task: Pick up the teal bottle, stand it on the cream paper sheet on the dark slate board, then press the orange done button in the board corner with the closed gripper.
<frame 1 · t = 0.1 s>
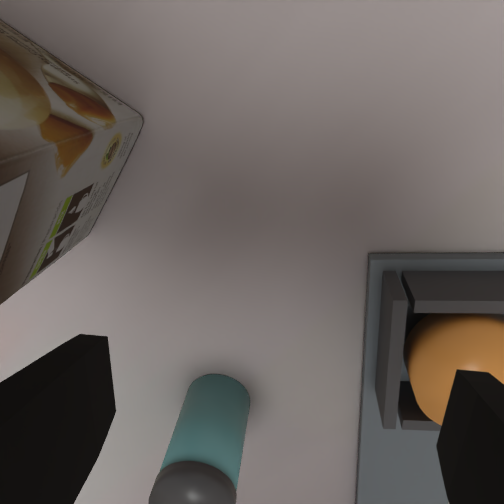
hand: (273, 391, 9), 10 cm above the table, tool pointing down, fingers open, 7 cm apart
done button: (468, 367, 17), point 3 cm above the table, slide at 0.0 cm
teal bottle: (218, 399, 23), on the table
coffee box: (19, 117, 18), on the table
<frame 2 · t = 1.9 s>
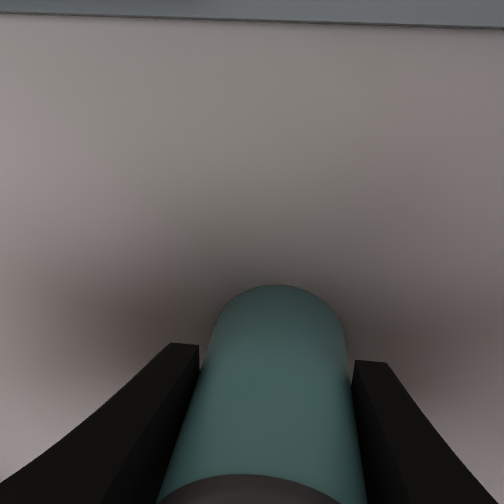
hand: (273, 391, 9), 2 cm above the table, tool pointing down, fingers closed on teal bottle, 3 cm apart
teal bottle: (278, 343, 11), on the table, touching gripper
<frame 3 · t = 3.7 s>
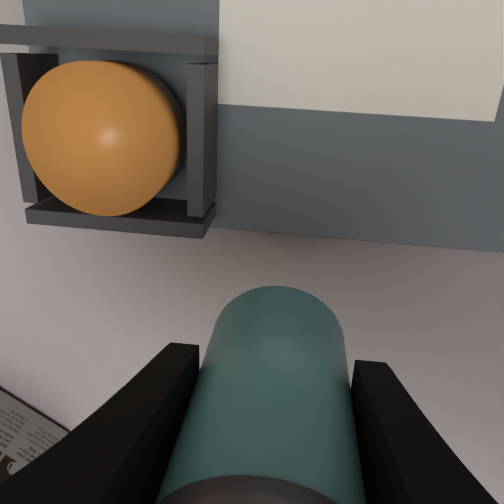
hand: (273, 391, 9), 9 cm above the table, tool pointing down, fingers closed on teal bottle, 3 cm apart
done button: (108, 138, 14), point 3 cm above the table, slide at 0.0 cm
slate board: (330, 27, 15), on the table
teal bottle: (277, 343, 11), point 7 cm above the table, touching gripper
when the fingers open (4 cm above the table, at t = 5.6 s): teal bottle drops 1 cm, resting on slate board.
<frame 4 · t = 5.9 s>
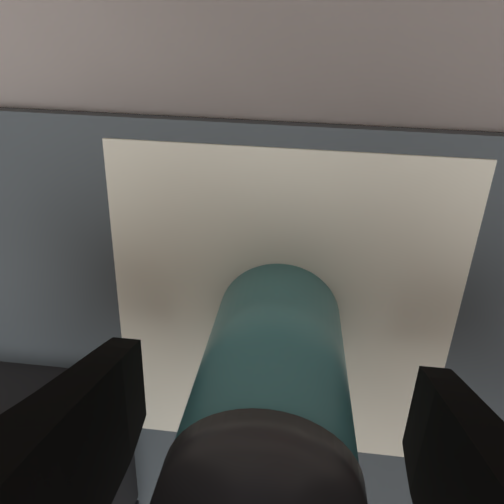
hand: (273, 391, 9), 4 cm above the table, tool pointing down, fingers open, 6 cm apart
slate board: (244, 359, 14), on the table
teal bottle: (278, 317, 12), point 1 cm above the table, touching slate board
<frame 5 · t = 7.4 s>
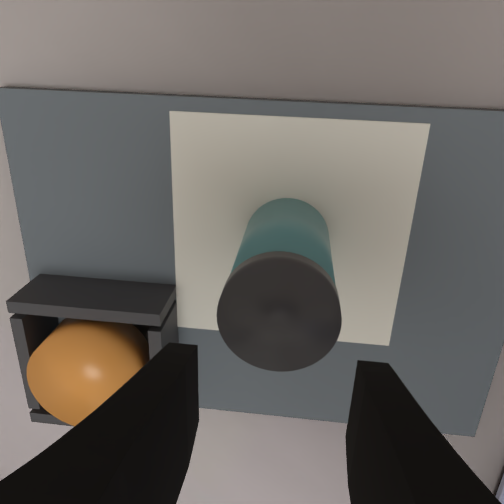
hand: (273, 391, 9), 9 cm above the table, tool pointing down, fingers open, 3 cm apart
done button: (92, 369, 18), point 3 cm above the table, slide at 0.0 cm
slate board: (261, 274, 19), on the table
teal bottle: (286, 238, 17), point 1 cm above the table, touching slate board
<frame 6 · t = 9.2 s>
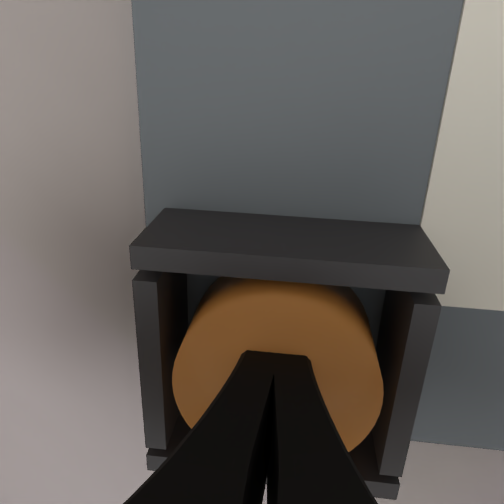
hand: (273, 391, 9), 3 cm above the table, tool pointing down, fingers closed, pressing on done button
done button: (277, 363, 10), point 2 cm above the table, slide at 0.6 cm, touching gripper
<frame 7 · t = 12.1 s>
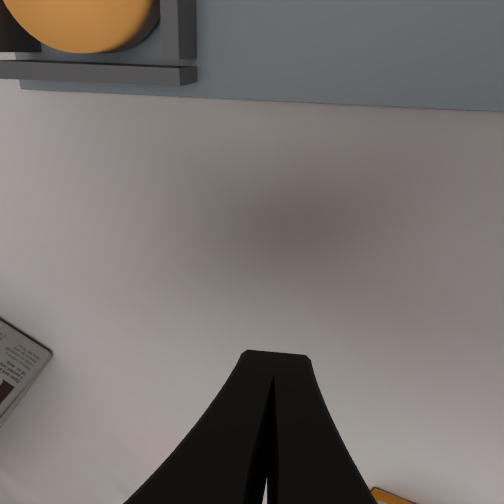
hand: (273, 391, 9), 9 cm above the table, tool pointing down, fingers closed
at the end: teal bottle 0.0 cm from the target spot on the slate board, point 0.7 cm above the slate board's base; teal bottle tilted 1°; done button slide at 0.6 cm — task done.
